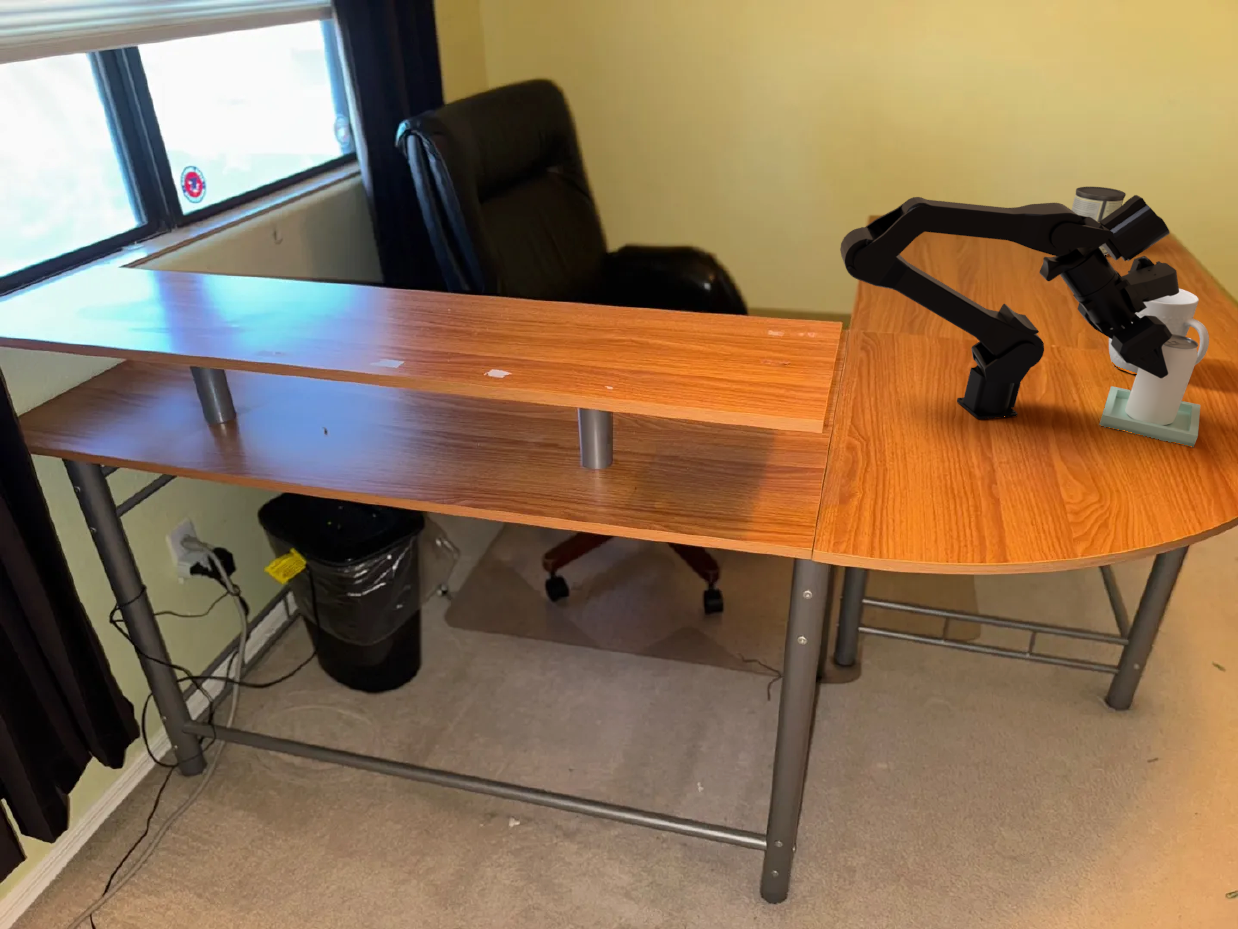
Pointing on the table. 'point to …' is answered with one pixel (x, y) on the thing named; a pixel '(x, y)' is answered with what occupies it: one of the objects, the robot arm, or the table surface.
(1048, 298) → the table surface
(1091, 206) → the coffee can
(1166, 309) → the mug
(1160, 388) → the can
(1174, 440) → the tray
